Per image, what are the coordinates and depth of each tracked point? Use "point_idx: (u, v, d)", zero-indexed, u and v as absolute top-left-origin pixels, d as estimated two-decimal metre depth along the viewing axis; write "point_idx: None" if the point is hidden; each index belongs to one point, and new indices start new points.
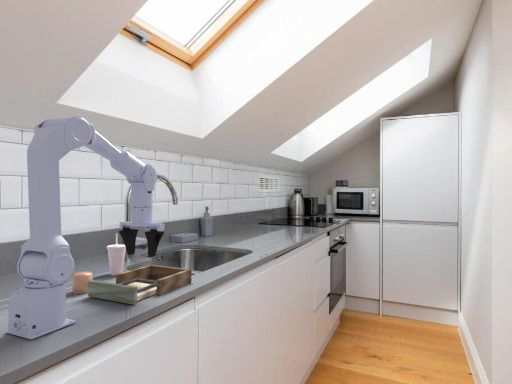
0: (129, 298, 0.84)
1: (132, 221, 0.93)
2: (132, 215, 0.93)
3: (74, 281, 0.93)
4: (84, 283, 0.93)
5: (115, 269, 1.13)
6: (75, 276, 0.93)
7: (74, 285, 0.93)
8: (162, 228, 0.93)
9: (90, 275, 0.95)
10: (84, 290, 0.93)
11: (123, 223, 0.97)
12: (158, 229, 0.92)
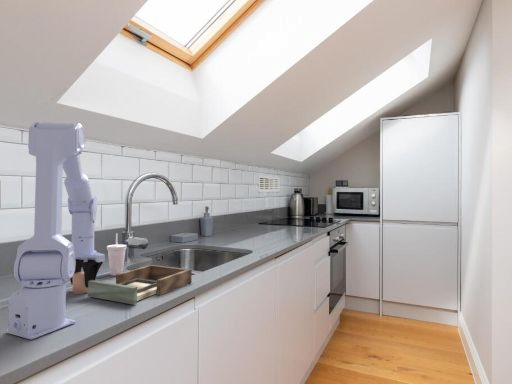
0: (129, 298, 0.84)
1: None
2: None
3: (74, 281, 0.93)
4: (84, 282, 0.93)
5: (115, 269, 1.13)
6: (75, 276, 0.93)
7: (74, 285, 0.93)
8: (102, 259, 0.92)
9: None
10: (84, 290, 0.93)
11: None
12: (97, 260, 0.92)
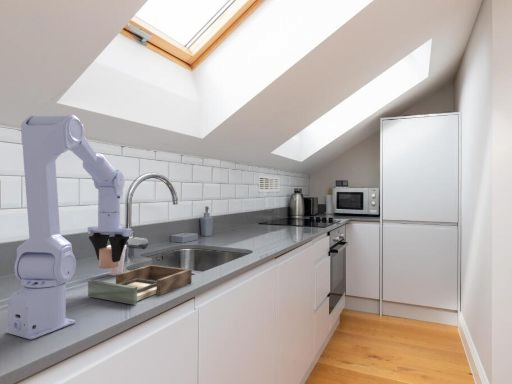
0: (129, 298, 0.84)
1: (99, 226, 0.93)
2: (99, 220, 0.93)
3: (101, 255, 0.93)
4: (111, 257, 0.93)
5: (115, 269, 1.13)
6: (102, 250, 0.93)
7: (101, 259, 0.93)
8: (129, 233, 0.92)
9: None
10: (111, 264, 0.93)
11: (91, 228, 0.96)
12: (125, 234, 0.92)
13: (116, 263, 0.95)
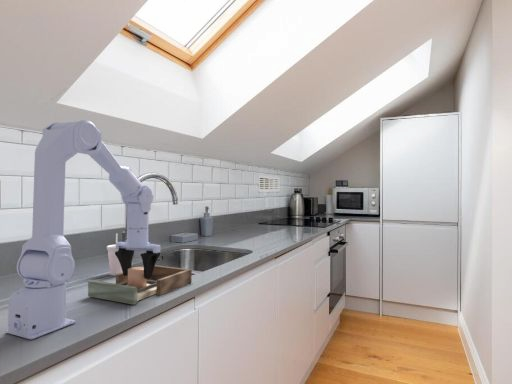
0: (129, 298, 0.84)
1: (128, 243, 0.93)
2: (128, 237, 0.93)
3: (130, 276, 0.93)
4: (140, 278, 0.93)
5: (115, 269, 1.13)
6: (131, 271, 0.93)
7: (130, 280, 0.93)
8: (158, 250, 0.92)
9: None
10: (140, 285, 0.93)
11: (119, 244, 0.96)
12: (154, 251, 0.92)
13: (145, 283, 0.95)
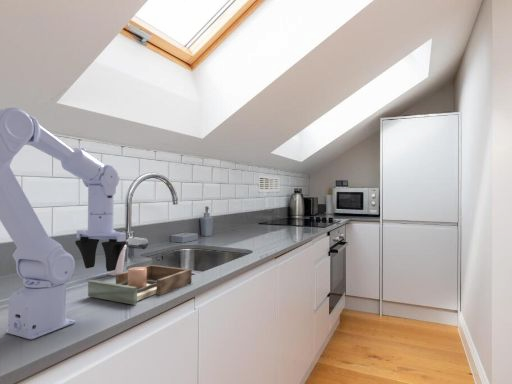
0: (129, 298, 0.84)
1: (89, 230, 0.81)
2: (89, 223, 0.81)
3: (130, 276, 0.93)
4: (140, 278, 0.93)
5: (115, 269, 1.13)
6: (131, 271, 0.93)
7: (130, 280, 0.93)
8: (123, 238, 0.81)
9: (145, 270, 0.95)
10: (140, 285, 0.93)
11: (80, 232, 0.85)
12: (118, 239, 0.80)
13: (145, 283, 0.95)
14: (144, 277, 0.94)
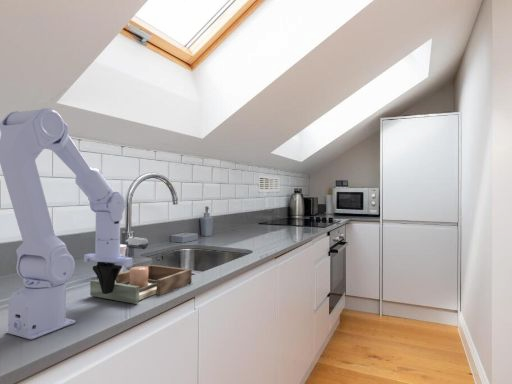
0: (131, 297, 0.84)
1: (96, 255, 0.84)
2: (96, 249, 0.84)
3: (132, 275, 0.94)
4: (142, 277, 0.94)
5: None
6: (133, 271, 0.94)
7: (132, 279, 0.94)
8: (130, 263, 0.83)
9: (147, 270, 0.95)
10: (142, 284, 0.94)
11: (87, 256, 0.87)
12: (125, 265, 0.82)
13: (146, 283, 0.95)
14: (146, 276, 0.95)
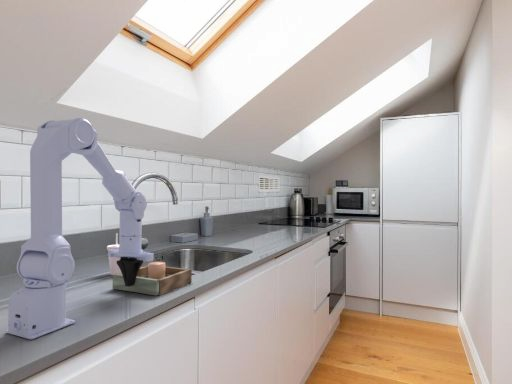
0: (152, 289, 0.91)
1: (120, 251, 0.91)
2: (120, 244, 0.91)
3: (150, 270, 1.01)
4: (160, 271, 1.01)
5: (115, 269, 1.13)
6: (151, 265, 1.00)
7: (150, 274, 1.01)
8: (151, 258, 0.90)
9: (164, 265, 1.02)
10: (160, 278, 1.01)
11: (111, 252, 0.94)
12: (147, 259, 0.89)
13: None
14: (163, 271, 1.02)
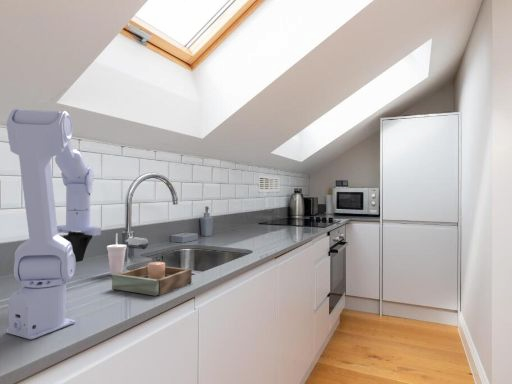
0: (151, 290, 0.91)
1: (66, 225, 0.88)
2: (66, 219, 0.88)
3: (150, 270, 1.00)
4: (159, 272, 1.01)
5: (115, 269, 1.13)
6: (151, 265, 1.00)
7: (150, 274, 1.00)
8: (98, 232, 0.88)
9: (164, 265, 1.02)
10: (159, 278, 1.01)
11: (59, 227, 0.91)
12: (93, 233, 0.87)
13: (163, 277, 1.02)
14: (163, 271, 1.02)
